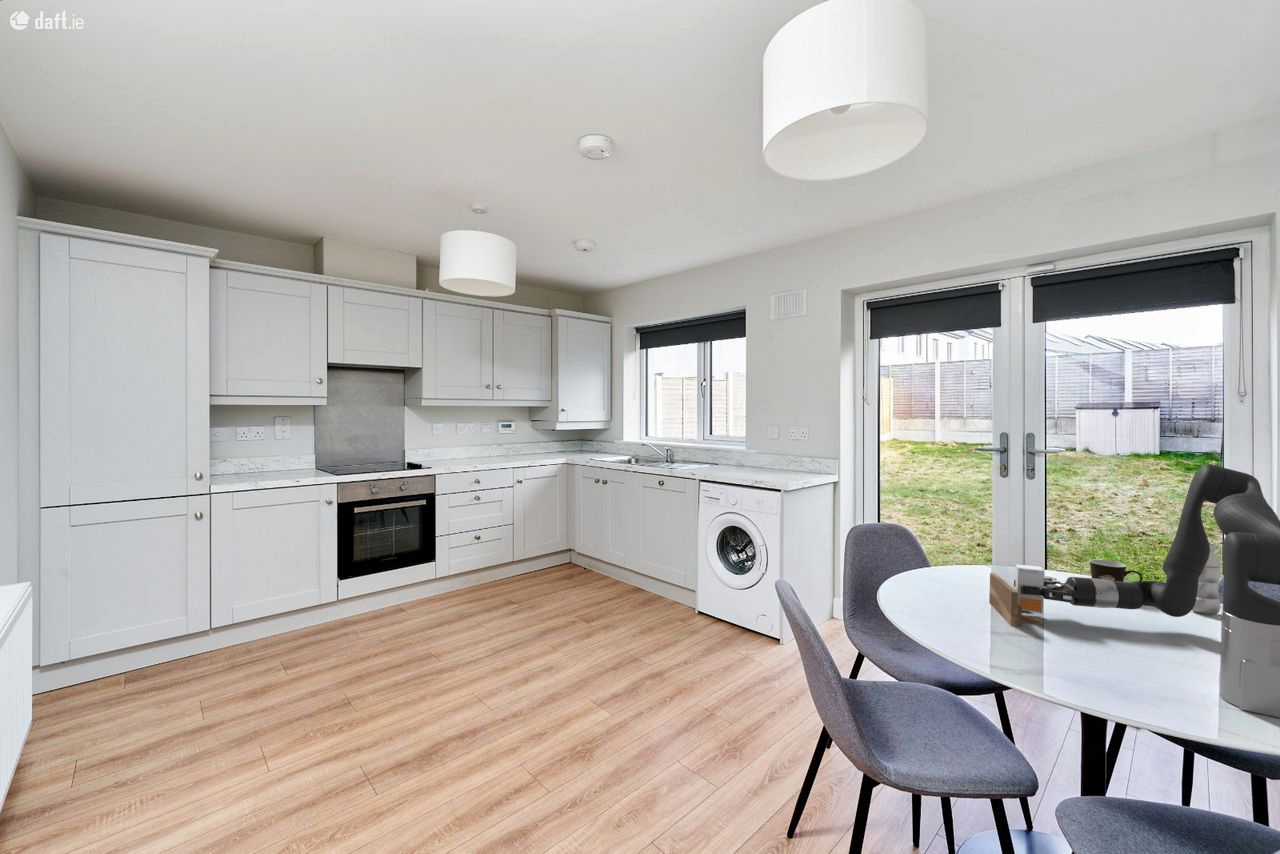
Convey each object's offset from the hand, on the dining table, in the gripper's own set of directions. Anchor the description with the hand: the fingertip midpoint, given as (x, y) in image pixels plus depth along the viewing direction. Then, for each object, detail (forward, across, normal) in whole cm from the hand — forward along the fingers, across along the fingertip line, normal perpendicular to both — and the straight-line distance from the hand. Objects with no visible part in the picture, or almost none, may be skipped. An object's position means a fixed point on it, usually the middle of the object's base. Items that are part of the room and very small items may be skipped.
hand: (1018, 586), depth 151 cm
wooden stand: (0, 0, +8) cm, 8 cm away
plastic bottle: (-51, -19, +9) cm, 55 cm away
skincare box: (-3, 0, +6) cm, 7 cm away
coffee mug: (-34, -27, +9) cm, 44 cm away
